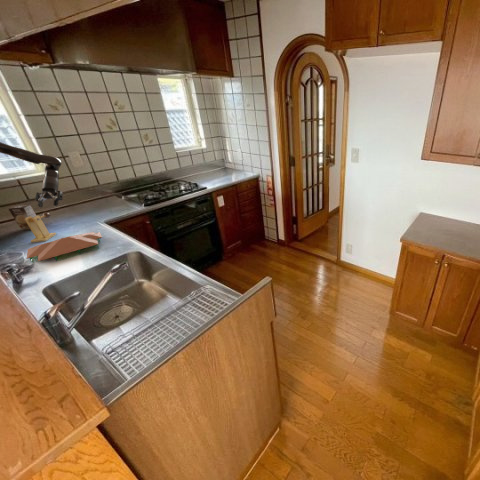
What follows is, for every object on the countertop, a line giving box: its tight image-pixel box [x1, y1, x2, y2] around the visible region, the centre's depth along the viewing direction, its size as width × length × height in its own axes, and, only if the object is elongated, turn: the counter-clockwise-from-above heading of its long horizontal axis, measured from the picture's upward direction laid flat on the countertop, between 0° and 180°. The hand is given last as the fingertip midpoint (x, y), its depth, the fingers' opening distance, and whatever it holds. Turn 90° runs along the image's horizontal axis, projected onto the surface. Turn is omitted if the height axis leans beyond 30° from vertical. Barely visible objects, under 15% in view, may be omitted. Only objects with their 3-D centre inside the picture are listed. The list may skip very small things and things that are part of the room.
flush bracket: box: [25, 214, 57, 243], centre depth 164 cm, size 10×8×15 cm
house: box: [26, 231, 103, 262], centre depth 150 cm, size 23×33×8 cm
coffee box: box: [8, 204, 37, 231], centre depth 180 cm, size 9×6×16 cm
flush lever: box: [29, 212, 51, 222], centre depth 167 cm, size 14×4×4 cm, turn 12°
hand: (47, 206), depth 174 cm, fingers open, 8 cm apart
